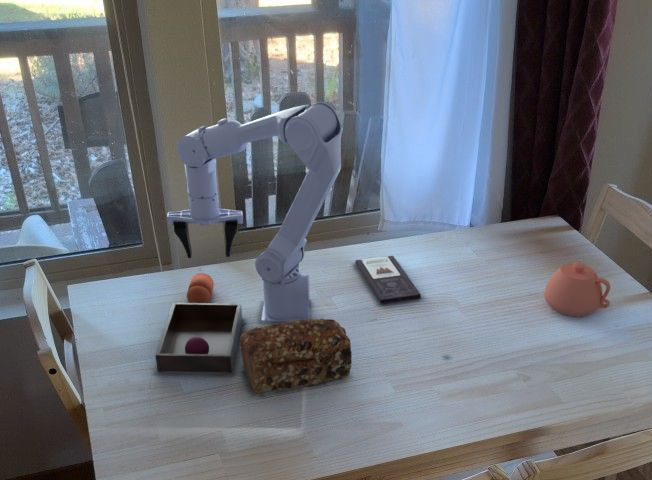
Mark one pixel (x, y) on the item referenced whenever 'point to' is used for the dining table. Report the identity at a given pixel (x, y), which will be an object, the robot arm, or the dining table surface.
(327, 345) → the bread
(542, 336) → the dining table surface
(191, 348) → the onion
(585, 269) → the sugar bowl
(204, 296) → the sweet potato
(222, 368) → the dark wooden tray
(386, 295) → the chocolate bar
